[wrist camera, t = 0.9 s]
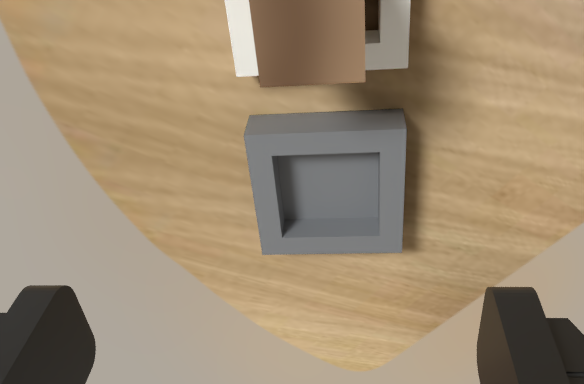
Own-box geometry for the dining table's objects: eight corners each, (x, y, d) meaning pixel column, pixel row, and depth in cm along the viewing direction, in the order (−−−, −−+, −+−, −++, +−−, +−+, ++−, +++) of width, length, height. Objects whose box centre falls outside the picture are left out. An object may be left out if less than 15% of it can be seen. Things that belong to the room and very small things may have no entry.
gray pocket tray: (402, 108, 34) (406, 128, 32) (398, 228, 39) (401, 252, 37) (249, 115, 35) (243, 135, 33) (266, 231, 40) (262, 254, 38)
